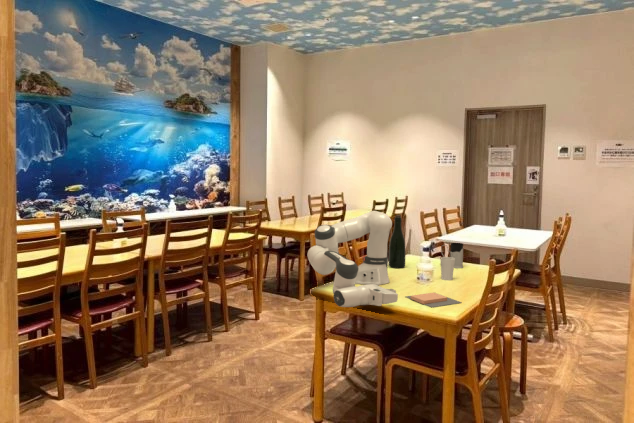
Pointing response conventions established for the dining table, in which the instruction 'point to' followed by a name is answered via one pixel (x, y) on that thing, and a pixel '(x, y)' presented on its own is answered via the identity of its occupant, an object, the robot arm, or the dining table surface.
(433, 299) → the tile
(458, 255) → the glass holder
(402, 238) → the dark green bottle
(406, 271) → the dining table surface
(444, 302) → the mat
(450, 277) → the cup
